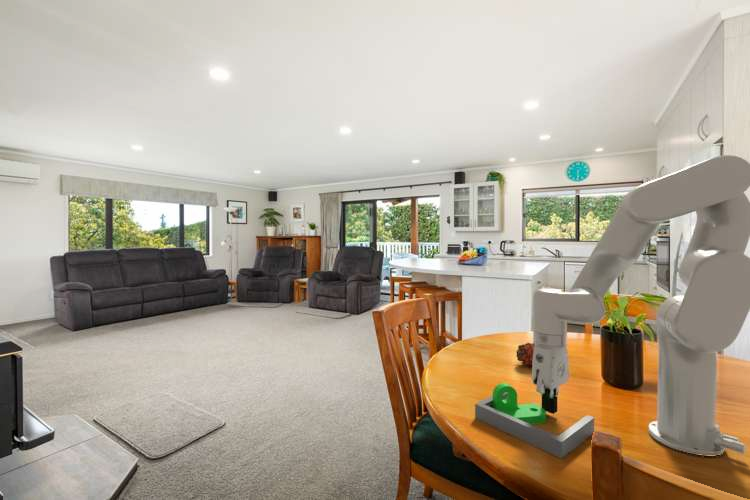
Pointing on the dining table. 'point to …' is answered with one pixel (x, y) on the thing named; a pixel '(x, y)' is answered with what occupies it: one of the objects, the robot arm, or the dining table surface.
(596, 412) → the dining table surface
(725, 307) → the robot arm
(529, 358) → the dragon fruit
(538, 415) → the mechanical part
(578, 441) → the u-shaped bracket
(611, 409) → the dining table surface
